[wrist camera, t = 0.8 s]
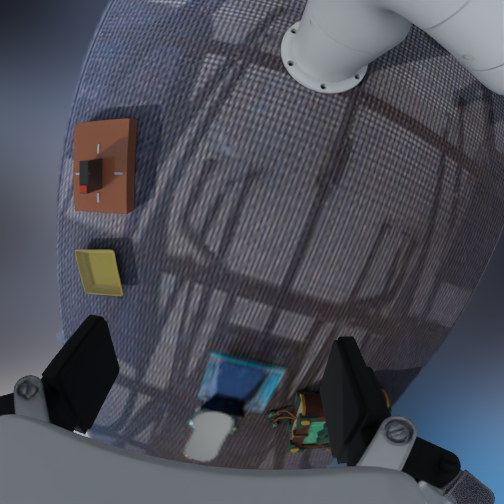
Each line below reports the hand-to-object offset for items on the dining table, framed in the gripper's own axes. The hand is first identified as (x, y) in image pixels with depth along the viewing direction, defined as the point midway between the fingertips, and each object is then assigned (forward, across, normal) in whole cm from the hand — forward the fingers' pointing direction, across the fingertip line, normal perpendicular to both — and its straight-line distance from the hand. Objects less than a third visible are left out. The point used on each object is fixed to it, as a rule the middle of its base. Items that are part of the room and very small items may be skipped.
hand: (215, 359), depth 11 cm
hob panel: (+32, +22, -6) cm, 39 cm away
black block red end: (+29, +22, -4) cm, 36 cm away
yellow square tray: (+32, +25, +12) cm, 42 cm away
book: (+32, -20, +47) cm, 61 cm away
